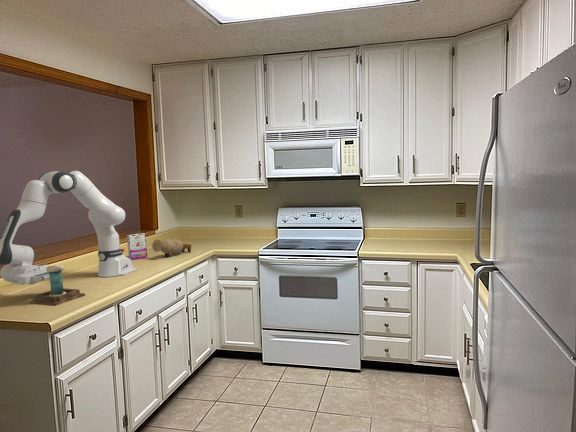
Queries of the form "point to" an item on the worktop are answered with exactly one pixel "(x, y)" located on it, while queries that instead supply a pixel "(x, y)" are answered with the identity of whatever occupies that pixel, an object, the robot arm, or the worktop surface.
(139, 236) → the candy bar box
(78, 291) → the pocket board
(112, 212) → the robot arm
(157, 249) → the brown stuffed animal
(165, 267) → the worktop surface
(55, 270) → the bobbin
